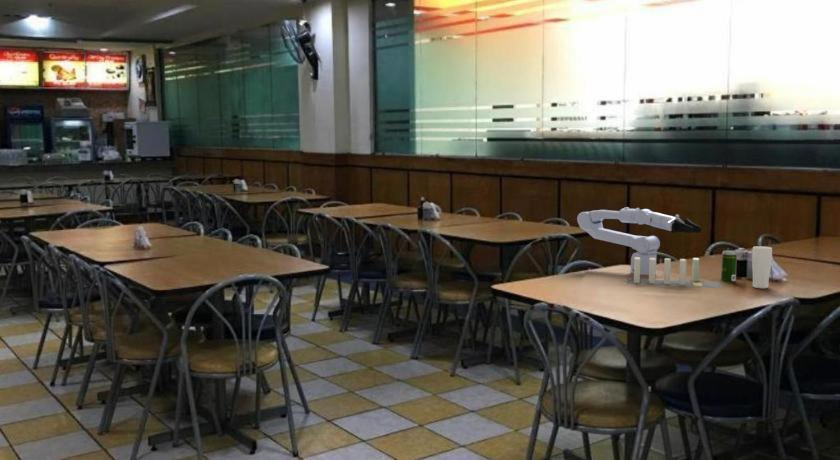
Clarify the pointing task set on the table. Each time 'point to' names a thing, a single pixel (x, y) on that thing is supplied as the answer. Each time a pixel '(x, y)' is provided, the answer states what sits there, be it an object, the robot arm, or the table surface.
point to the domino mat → (677, 283)
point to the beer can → (728, 266)
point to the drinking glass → (761, 266)
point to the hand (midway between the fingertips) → (696, 230)
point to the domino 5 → (695, 269)
